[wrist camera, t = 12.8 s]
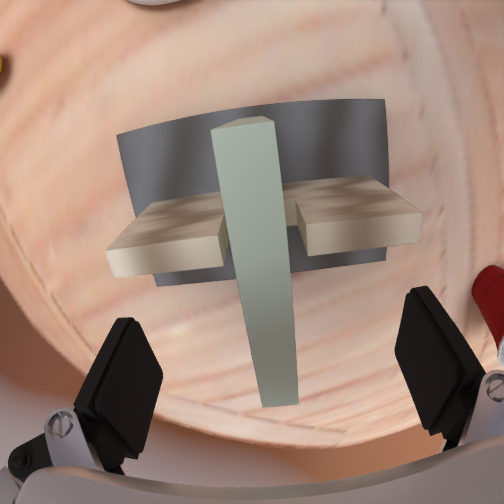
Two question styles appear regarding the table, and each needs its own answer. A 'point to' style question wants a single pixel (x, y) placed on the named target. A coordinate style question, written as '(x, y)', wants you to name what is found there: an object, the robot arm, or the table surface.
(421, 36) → the table surface
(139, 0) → the flower in vase
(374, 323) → the table surface
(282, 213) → the sage plate
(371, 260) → the board
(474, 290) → the plastic cup
